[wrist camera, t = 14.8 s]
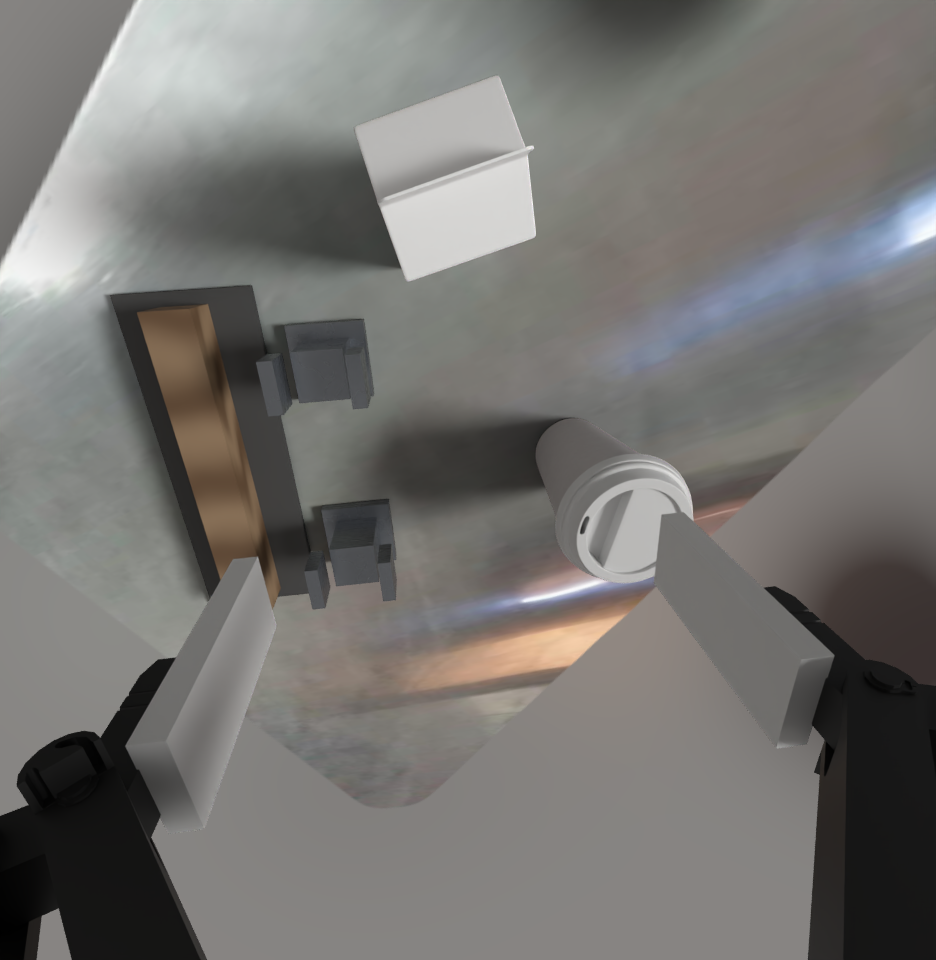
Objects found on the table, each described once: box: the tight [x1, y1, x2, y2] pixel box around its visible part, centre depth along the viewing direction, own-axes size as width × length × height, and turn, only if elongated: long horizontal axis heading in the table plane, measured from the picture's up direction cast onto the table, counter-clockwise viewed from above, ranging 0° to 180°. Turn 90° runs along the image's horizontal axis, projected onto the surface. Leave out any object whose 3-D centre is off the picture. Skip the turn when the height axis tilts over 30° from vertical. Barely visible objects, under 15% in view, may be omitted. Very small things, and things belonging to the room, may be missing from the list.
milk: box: [354, 75, 536, 282], centre depth 28 cm, size 6×6×22 cm
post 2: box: [304, 499, 397, 609], centre depth 44 cm, size 6×7×9 cm
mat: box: [110, 286, 310, 598], centre depth 44 cm, size 28×10×1 cm, turn 3°
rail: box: [137, 304, 281, 610], centre depth 42 cm, size 26×4×4 cm, turn 3°
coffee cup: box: [535, 418, 693, 583], centre depth 40 cm, size 10×10×15 cm
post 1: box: [256, 319, 374, 416], centre depth 37 cm, size 6×7×9 cm
